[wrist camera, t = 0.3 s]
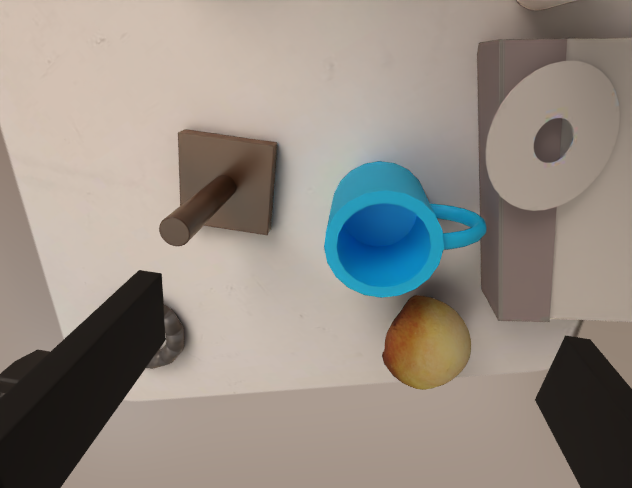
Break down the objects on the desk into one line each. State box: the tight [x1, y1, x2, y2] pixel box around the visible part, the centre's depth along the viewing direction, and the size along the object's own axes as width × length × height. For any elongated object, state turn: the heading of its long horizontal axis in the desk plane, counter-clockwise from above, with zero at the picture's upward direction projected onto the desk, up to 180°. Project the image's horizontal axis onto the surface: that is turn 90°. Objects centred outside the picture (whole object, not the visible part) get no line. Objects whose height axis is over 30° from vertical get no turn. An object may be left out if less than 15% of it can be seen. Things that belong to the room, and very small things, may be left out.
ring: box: [146, 304, 184, 369], centre depth 42 cm, size 9×9×2 cm
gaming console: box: [477, 38, 632, 322], centre depth 28 cm, size 23×8×20 cm
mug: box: [324, 161, 486, 298], centre depth 31 cm, size 12×8×8 cm
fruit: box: [382, 295, 471, 390], centre depth 35 cm, size 8×8×8 cm
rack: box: [159, 129, 277, 246], centre depth 30 cm, size 8×8×12 cm
